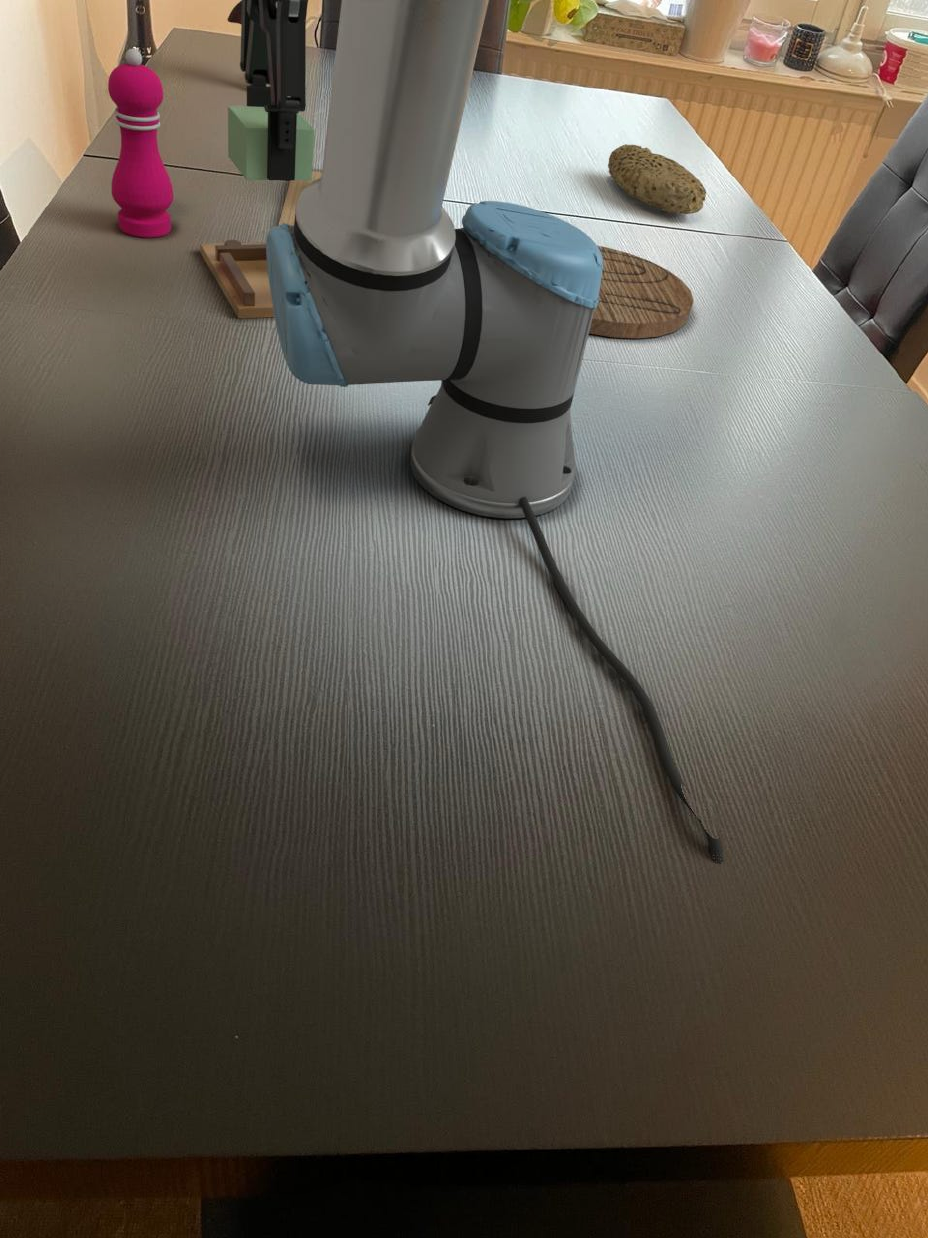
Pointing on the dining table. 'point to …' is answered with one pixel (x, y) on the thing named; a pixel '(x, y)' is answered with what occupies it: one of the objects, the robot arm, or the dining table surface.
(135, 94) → the pepper mill
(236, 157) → the green block
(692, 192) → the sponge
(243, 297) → the wooden tray
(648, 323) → the trivet
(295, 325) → the robot arm
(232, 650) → the dining table surface
